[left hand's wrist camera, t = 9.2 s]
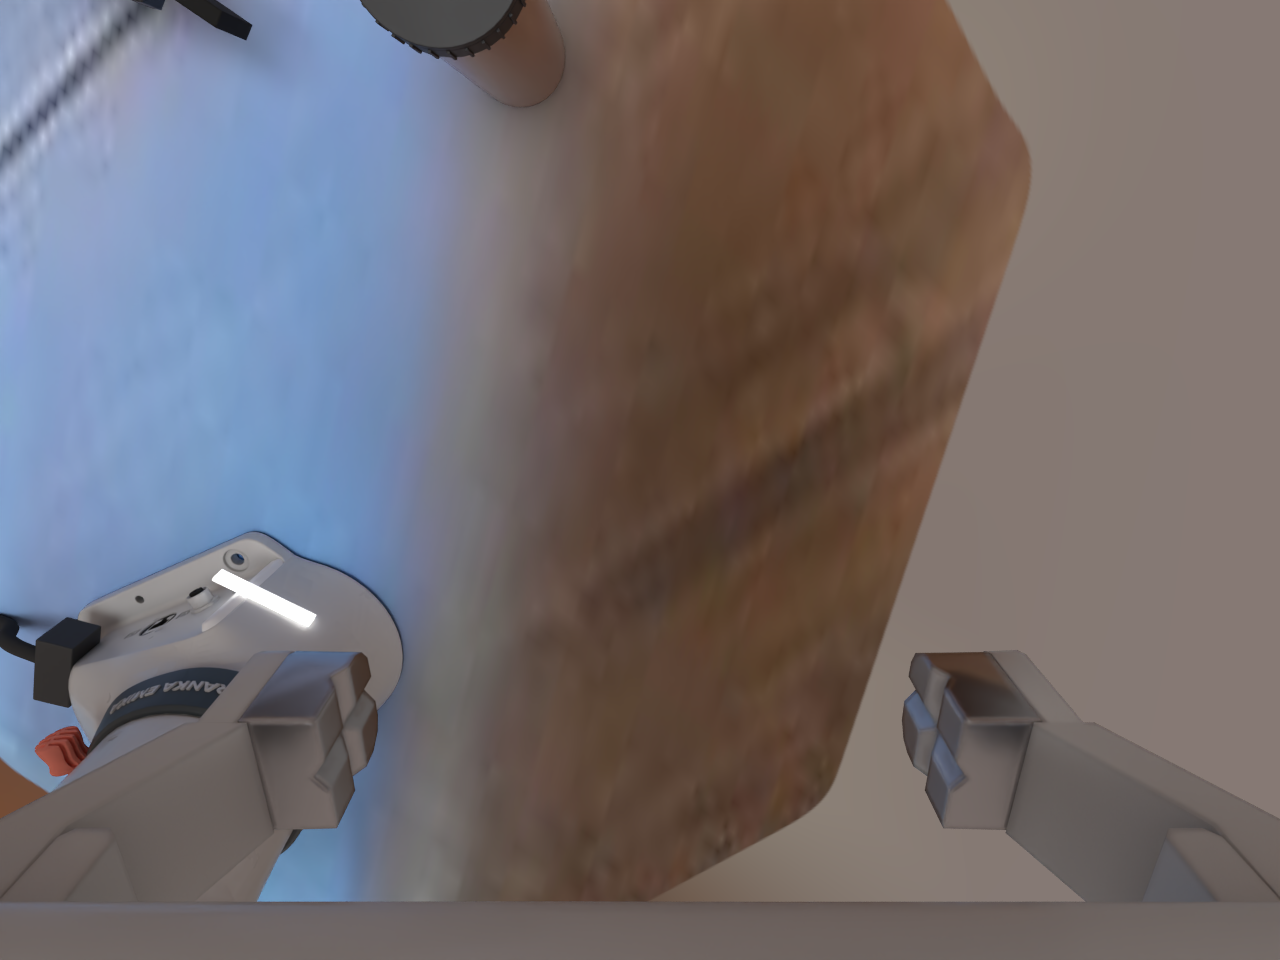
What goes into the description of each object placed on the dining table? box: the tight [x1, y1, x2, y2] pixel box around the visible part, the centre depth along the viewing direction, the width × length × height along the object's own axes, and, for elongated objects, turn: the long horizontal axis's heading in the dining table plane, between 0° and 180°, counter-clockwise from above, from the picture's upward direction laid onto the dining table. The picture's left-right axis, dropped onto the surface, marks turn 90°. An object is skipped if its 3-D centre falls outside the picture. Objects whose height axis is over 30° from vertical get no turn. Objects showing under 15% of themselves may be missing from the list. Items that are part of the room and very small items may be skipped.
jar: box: [439, 0, 565, 107], centre depth 31 cm, size 5×5×18 cm
